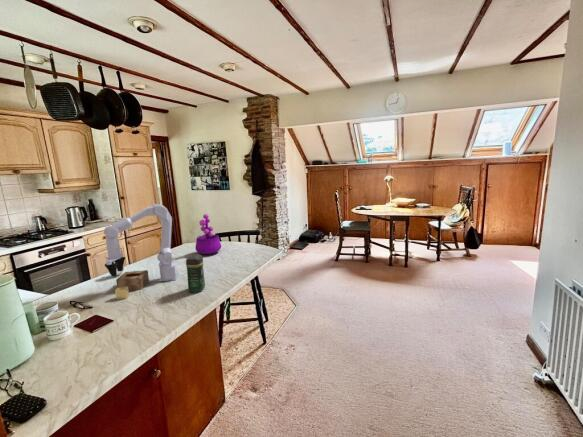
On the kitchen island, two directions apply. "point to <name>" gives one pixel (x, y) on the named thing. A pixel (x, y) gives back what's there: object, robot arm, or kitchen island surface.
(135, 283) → the brown square open block
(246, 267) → the kitchen island surface
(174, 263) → the robot arm
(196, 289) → the coffee jar
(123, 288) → the wooden block
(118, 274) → the donut
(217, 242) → the decorative plant
